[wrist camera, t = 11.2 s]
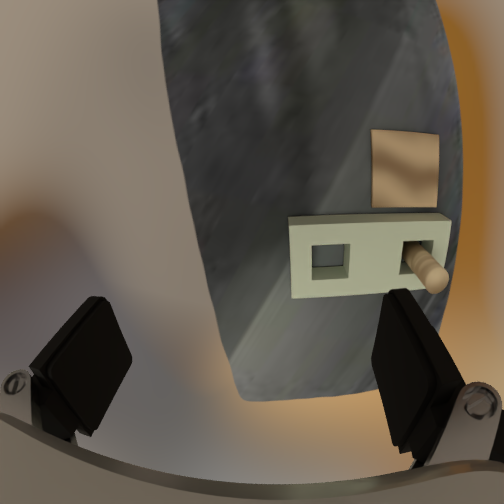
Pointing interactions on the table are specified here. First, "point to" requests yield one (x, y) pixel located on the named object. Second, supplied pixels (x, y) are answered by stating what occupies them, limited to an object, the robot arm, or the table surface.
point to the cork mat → (404, 169)
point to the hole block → (362, 251)
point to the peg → (425, 267)
